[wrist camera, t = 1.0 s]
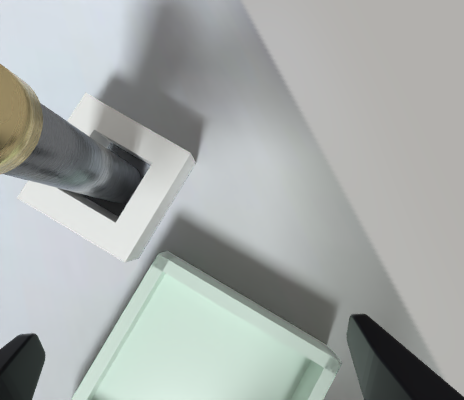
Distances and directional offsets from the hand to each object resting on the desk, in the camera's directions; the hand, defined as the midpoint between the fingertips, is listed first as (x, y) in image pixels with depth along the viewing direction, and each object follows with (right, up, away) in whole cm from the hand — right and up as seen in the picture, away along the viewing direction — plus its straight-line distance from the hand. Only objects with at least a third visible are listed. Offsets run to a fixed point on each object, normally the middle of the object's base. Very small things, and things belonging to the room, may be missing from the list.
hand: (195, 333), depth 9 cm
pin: (-7, +5, +14) cm, 17 cm away
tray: (-1, -9, +13) cm, 15 cm away
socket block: (-7, +5, +14) cm, 17 cm away
